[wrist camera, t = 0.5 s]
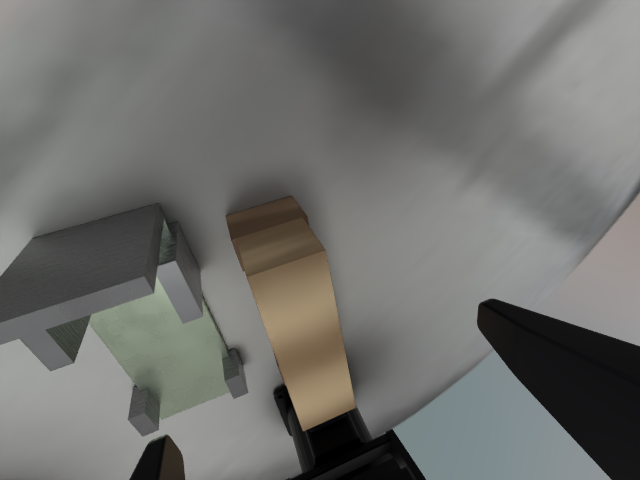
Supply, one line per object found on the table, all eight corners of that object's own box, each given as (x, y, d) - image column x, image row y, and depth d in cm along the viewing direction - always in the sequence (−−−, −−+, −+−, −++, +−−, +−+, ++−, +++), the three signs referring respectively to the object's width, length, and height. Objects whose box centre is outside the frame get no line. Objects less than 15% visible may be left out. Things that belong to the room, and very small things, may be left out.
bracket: (248, 378, 26) (267, 472, 20) (155, 416, 24) (145, 529, 19) (167, 200, 18) (158, 271, 12) (20, 241, 16) (-72, 345, 10)
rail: (335, 364, 24) (355, 407, 21) (288, 384, 23) (303, 431, 20) (302, 217, 17) (325, 250, 14) (236, 238, 17) (246, 277, 14)
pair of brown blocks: (324, 334, 26) (338, 363, 24) (275, 353, 25) (284, 385, 23) (291, 195, 20) (306, 216, 17) (225, 215, 19) (231, 240, 17)
